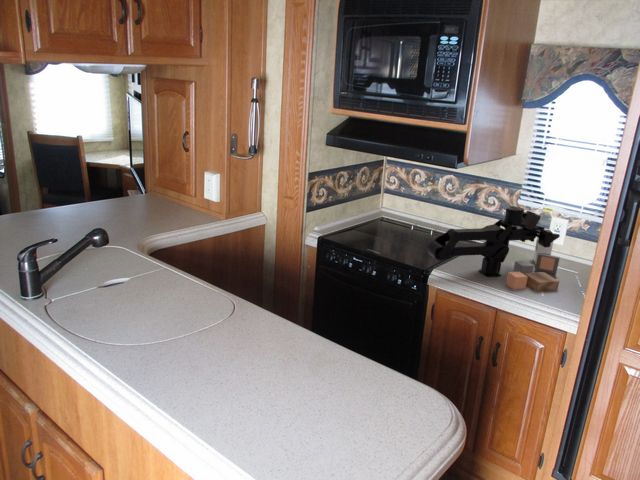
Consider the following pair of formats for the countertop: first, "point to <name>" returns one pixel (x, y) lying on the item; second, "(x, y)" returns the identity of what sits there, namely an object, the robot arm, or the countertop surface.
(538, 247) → the syrup box
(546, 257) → the swatch sign
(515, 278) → the terracotta cube
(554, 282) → the base block
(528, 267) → the slate cube
